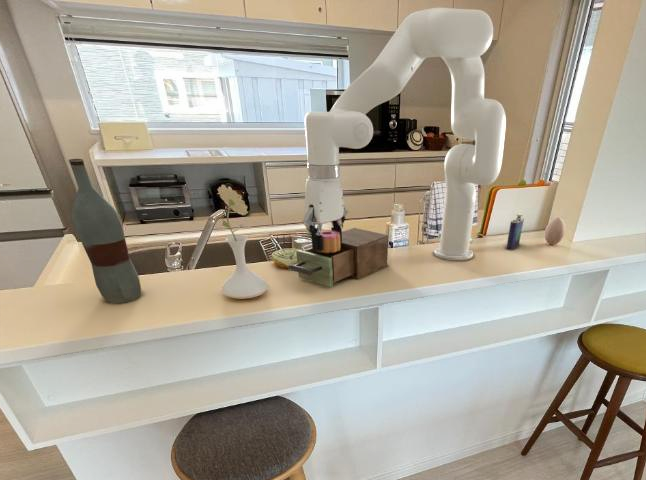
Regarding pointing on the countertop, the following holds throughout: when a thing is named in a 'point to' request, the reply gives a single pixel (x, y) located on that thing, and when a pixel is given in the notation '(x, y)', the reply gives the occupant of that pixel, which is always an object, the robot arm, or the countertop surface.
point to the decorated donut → (285, 257)
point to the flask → (515, 233)
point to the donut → (330, 241)
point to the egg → (555, 231)
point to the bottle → (103, 241)
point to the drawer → (325, 265)
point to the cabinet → (366, 250)
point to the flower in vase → (239, 254)
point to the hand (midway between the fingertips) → (327, 246)
